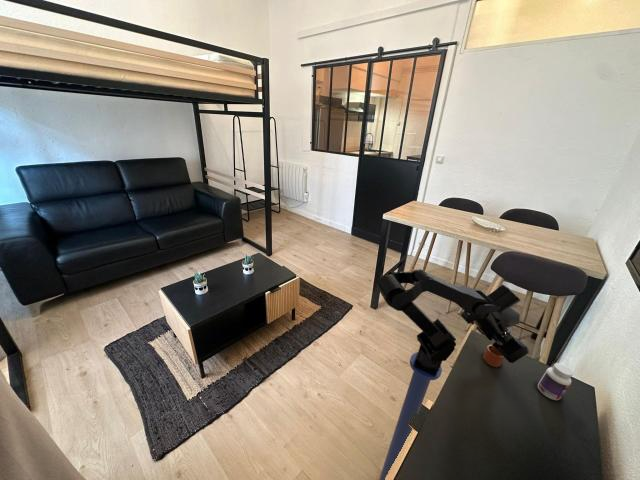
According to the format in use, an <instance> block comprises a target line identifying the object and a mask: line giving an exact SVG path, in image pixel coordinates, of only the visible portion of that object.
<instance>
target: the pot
mask: <svg viewBox="0 0 640 480" xmlns="http://www.w3.org/2000/svg"><path fill="white" fill-rule="evenodd" d="M492 346H493V345H492V344H488V345H487V346H486V348H485V351H484V353H483V355H482V360H483V361H484V362H485V363H486V364H487V365H489V366H491V367H494V368H499V367H500V366H501V365H502V363H503V361H504V359H505V358H504V356H503V355H502V354H501V355H500V356H498V355H495V354H494V353H492V352H491V351H490V350H491V348H492Z"/></svg>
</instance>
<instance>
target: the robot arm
mask: <svg viewBox="0 0 640 480" xmlns="http://www.w3.org/2000/svg"><path fill="white" fill-rule="evenodd" d="M402 284H414V285H413V286H412V287H411V288H409V289H406V288H404V286H403V285H402ZM376 287H377V290H378V291H379V293H380V294H381V297H382V298H383V299H384V301H385V303H386V305H387V306H389V307H390V308H392V309H394V310H395V311H396V312H397V311H398V312H402V313H403V314H404V315H405V316H407V318H408V319H409V320H411V322H412V323H414V324H415V325H416V326H417V327H418V328H419V329H420V330H421V332H419V333H418V334H417V335H416V340H417V342H418V343H419V348H418V350H417V351H416V352H417V356H416V359H415V362H414V367H416V368H418V369H420V370H422V371H424V372H426V373H428V374H430V375H432V376H436V372H437V371H439V369H440V366H441V367H442V363H443V362H446V361H447V359H449V357H450V356H451V355H452V354H453V352H454V351H455V348H456V346H457V343H456V341H457V339H456V337H455V336H454V335H453V333H452V332H451V331H450V330H449V328H447V326H446V325H445V324H444V323H443V322H442V321H441V320H440V319H439V318H437V319H436V320H432V319H431V318H430V317H429V316H428V315H427V314H426V313H425V312H424V311H423V310H422V309H421V308H420V307H419V306H418V305H417V304H416V303H415V300H416V299H418V297H419V296H420V295H422V293H425V292H428V293H431V294H433V295H435V296H438V297H440V298H443V299H445V300H447V301H449V302H451V303H454V304H456V305H457V306H459V307H460V308H461V309H462V310H463V312H461V313H460V317H461V318H462V319H463V320H464V321H465V322H466V324H468V325H472V326H474V325H475V326H476V330H477V331H478V332H479V333H480V334H481V336H485V338H486V339H488V340H489V342H491V341H492V340H493V341H494V342H495V343H494V342H493V343H492V344H491V345H493V346H494V347H495V348H496V349H497V350H498V351H499V352H500V353H501V354H502V355H503V356H504V359H505V360H506V361H507V362H508V363H510V364H514V363H516V362H517V361H519V360H520V359H522V358H523V357H525V356H527V355H528V354H529V352H530V350H529V348H528V347H527V345H525V344H524V343H523V342H522V341H521V340H520V339H518V338H517V337H514V336H513V335H512V334H511V333H510V334H508V333H506V332H507V331H509V330H510V329H509V328H511V327H514V326H516V325H519V324H520V323H521V322H520V321H521V314H520V313H519V312H518V311H516V310H515V308H513V307H515V306H516V305H517V304H519V303H520V302H521V299H520V297H518V295H516V294H515V293H514V292H513V291H512V290H511V289H510V288H509V287H508V286H507V285H505V284H501V285H499V286H498V287H497V288H496V289H495V290H493V291H492V292H490V293H489V294H488V295H487V294H486V293H484V292H483V291H482V290H481V289H475V288H472V287H470V286H468V285H467V286H465V285H456V284H453V283H452V282H451V283H450V282H449V281H446V280H445V279H442V278H439V277H438V276H435V275H433V274H431V273H429V272H427V271H426V270H425V269H421V268H419V269H415V270H412V271H397V272H394V273H391V274H386V275H384V276H382V277H380V278H379V280H378V282H377V284H376ZM507 328H508V329H509V330H508V329H507ZM503 332H505V333H503ZM503 336H504V337H503ZM415 365H416V366H415Z"/></svg>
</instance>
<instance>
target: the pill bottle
mask: <svg viewBox="0 0 640 480" xmlns="http://www.w3.org/2000/svg"><path fill="white" fill-rule="evenodd" d="M573 372H574V371H572V369H571V368H570V367H569V366H566V365H565V364H563V363H560V362H555V363H554V364H553V365H552V366H551V367H548V368H547V369H546V370H545V371H544V373H543V375H542V377H541V378H540V380H539V381H538V383H537V389H538V390H539V392H540V393H541V394H542V395H543V396H545V397H546V398H548V399H550V400H552V401H559V400H561V399H562V397H563V396H564V394H566V391H567V390H568V389H569V387H570V386H571V385H572V379H571V378H572V377H573V374H574V373H573Z"/></svg>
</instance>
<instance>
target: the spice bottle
mask: <svg viewBox="0 0 640 480" xmlns="http://www.w3.org/2000/svg"><path fill="white" fill-rule="evenodd" d="M507 329H508V330H509V331H507V332H506V333H508V334H511V333H512V331H511V329H509V327H508V328H507ZM503 333H505V332H503ZM503 337H504V336H503ZM494 343H495V341H494V342H493V344H494ZM490 351H491V352H492V353H494V354H495V355H498V356H500V355H501V353H500V352H499V351H498V350H497V349H496V348H495V347H494V346H492V348H491V350H490Z"/></svg>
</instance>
